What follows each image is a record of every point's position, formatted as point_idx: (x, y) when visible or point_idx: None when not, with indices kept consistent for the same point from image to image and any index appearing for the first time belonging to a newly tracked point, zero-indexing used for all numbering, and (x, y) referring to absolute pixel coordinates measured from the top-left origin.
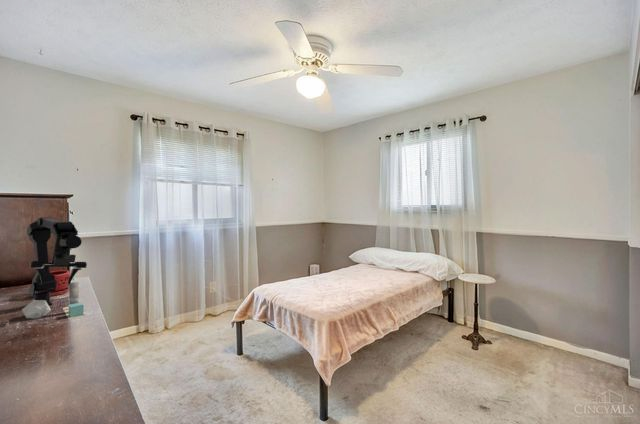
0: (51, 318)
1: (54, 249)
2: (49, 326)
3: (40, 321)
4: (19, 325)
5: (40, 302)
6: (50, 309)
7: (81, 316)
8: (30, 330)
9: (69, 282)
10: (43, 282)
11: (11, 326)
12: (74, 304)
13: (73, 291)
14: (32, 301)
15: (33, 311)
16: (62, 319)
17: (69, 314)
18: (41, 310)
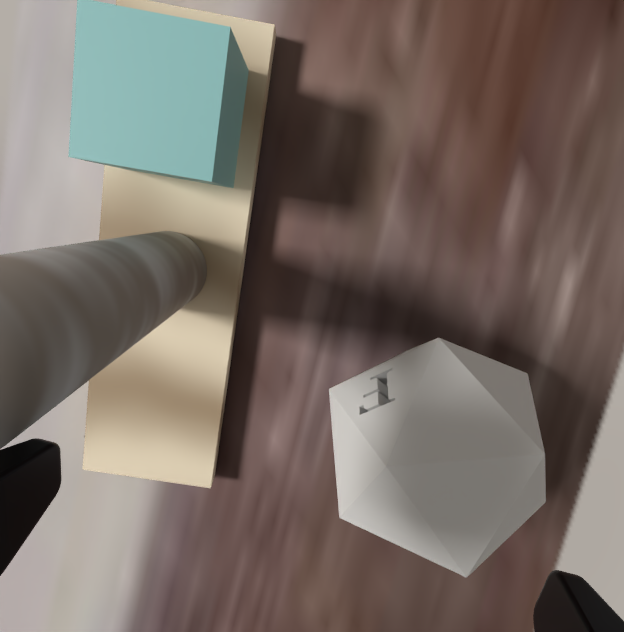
0: (339, 306)
1: None
2: (420, 54)
3: (420, 294)
4: (548, 325)
5: (439, 442)
6: (334, 391)
7: (162, 4)
8: (547, 82)
9: (10, 453)
10: (584, 618)
11: (589, 351)
12: (158, 126)
13: (69, 252)
14: (495, 529)
15: (489, 367)
16: (288, 184)
17: (238, 126)
18: (429, 342)
